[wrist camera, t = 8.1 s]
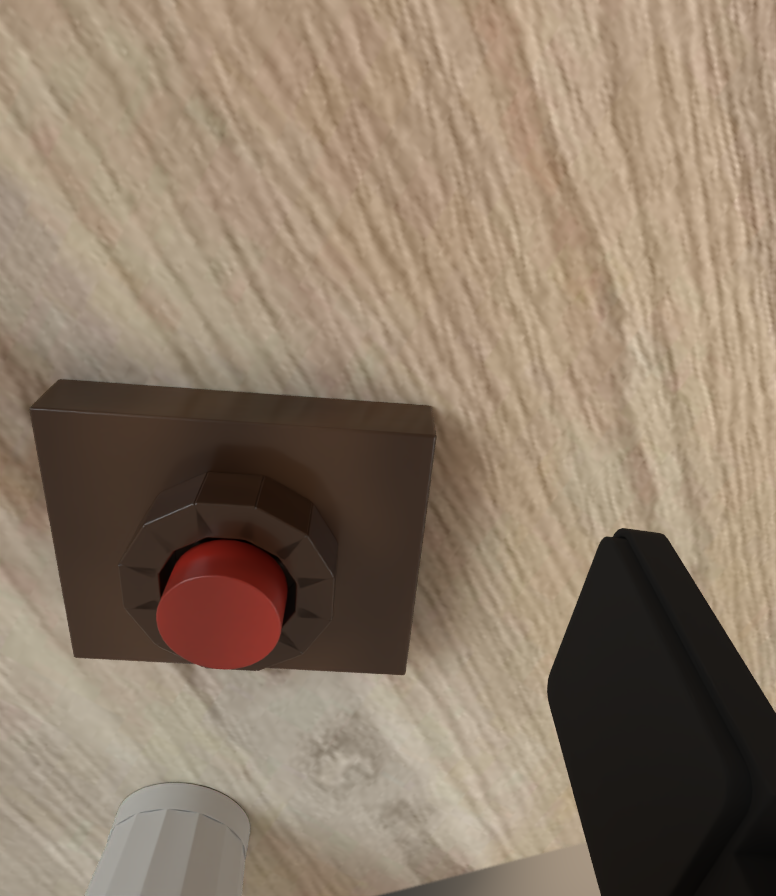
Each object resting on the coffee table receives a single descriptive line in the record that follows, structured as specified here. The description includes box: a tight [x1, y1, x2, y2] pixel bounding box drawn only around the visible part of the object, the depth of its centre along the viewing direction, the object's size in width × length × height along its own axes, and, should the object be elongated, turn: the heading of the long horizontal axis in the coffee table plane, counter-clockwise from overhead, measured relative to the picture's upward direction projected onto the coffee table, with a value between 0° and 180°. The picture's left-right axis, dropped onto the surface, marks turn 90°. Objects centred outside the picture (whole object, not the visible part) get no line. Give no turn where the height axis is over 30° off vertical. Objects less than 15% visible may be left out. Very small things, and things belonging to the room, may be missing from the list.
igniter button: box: [156, 539, 288, 669], centre depth 21 cm, size 4×4×2 cm
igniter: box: [29, 379, 436, 675], centre depth 23 cm, size 12×10×4 cm
